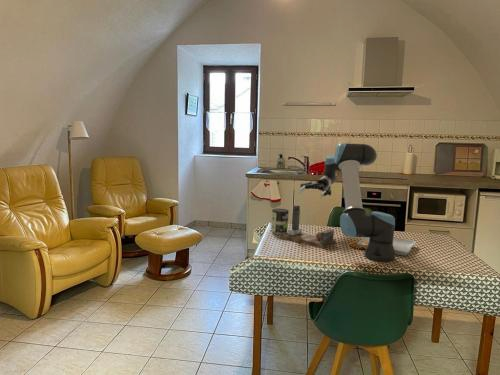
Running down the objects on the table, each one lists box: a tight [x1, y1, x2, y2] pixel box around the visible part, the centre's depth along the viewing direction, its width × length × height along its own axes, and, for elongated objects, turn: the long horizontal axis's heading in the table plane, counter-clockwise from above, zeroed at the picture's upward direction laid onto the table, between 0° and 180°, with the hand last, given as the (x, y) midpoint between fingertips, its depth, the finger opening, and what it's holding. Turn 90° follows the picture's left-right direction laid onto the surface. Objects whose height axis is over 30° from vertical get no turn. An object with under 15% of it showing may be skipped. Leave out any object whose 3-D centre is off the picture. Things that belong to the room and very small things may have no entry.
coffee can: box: [271, 208, 289, 235], centre depth 246 cm, size 10×10×14 cm
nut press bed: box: [280, 228, 337, 249], centre depth 228 cm, size 28×14×8 cm, turn 52°
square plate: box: [356, 236, 417, 256], centre depth 222 cm, size 27×27×4 cm
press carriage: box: [287, 205, 303, 236], centre depth 233 cm, size 4×9×17 cm, turn 142°
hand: (310, 193), depth 236 cm, fingers open, 13 cm apart
